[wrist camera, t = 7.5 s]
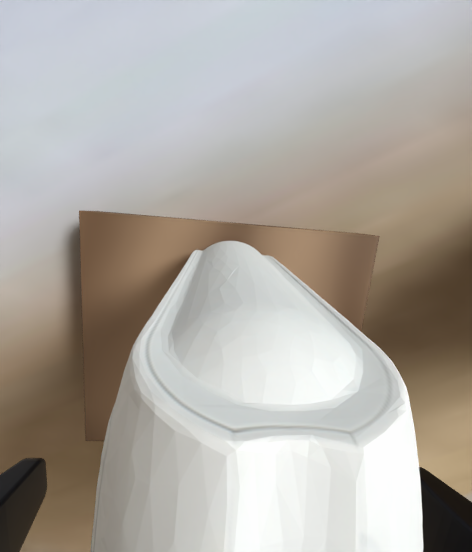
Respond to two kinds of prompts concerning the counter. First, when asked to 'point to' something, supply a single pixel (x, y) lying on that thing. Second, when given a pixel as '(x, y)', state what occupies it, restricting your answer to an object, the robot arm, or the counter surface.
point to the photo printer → (256, 424)
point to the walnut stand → (165, 268)
